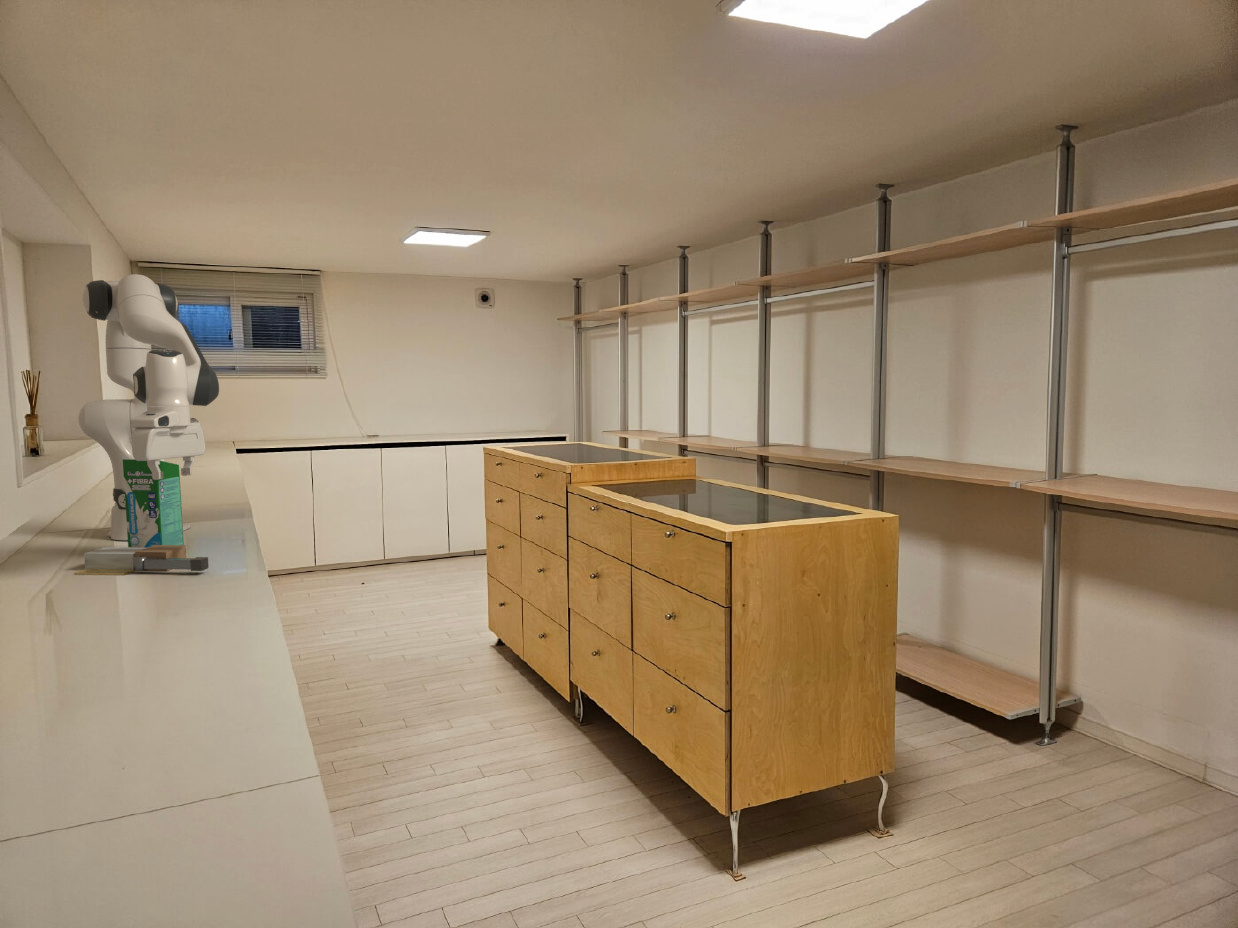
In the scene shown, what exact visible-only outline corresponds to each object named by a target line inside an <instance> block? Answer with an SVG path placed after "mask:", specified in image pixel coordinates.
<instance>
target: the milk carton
mask: <svg viewBox="0 0 1238 928" xmlns="http://www.w3.org/2000/svg"><path fill="white" fill-rule="evenodd" d="M165 460H166V459H160V464H159V465H158V466H159V469H160V471H163V476H164V478H163V479H159V480H154V479H153V478H152V472H151V470H150V468H149V467H148V465H147V461H137V460H136V459H123V475H124V490H125V505H126V520H127V535H128V540H127V547H132V548H148V547H151V546H154V545H185V544H184V531H183V524H184V523H183V513H182V512H183V511H182V510H183V509H182V508H183V507H182V493H181V490H182V489H181V477H180V475H181V472H180V464H178V463H173V462H168V461H165ZM182 523H183V524H182Z"/></svg>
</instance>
